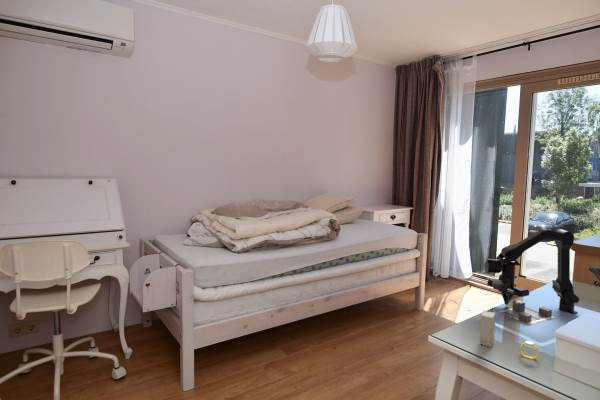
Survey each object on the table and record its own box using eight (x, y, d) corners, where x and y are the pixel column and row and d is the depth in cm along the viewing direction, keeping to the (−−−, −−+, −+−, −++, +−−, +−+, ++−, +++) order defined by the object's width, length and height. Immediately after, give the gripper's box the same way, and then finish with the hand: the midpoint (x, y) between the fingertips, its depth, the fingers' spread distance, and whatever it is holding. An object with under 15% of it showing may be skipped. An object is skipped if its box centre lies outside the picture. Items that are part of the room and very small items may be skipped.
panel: (523, 307, 182) (523, 299, 182) (556, 320, 168) (557, 311, 167) (497, 313, 175) (498, 305, 175) (530, 327, 161) (530, 318, 160)
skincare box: (491, 348, 144) (492, 318, 142) (478, 344, 146) (480, 315, 145) (494, 341, 149) (495, 312, 147) (482, 338, 151) (483, 310, 150)
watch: (519, 357, 137) (519, 342, 137) (520, 354, 139) (520, 339, 139) (538, 361, 134) (538, 345, 133) (539, 358, 136) (538, 342, 135)
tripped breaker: (516, 308, 178) (517, 299, 177) (524, 311, 174) (525, 302, 173) (512, 309, 176) (512, 300, 176) (520, 312, 173) (520, 303, 172)
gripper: (480, 270, 184) (478, 300, 186) (514, 281, 167) (512, 314, 169) (495, 267, 189) (494, 296, 190) (531, 278, 172) (529, 310, 173)
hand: (506, 304), depth 181 cm, fingers closed
